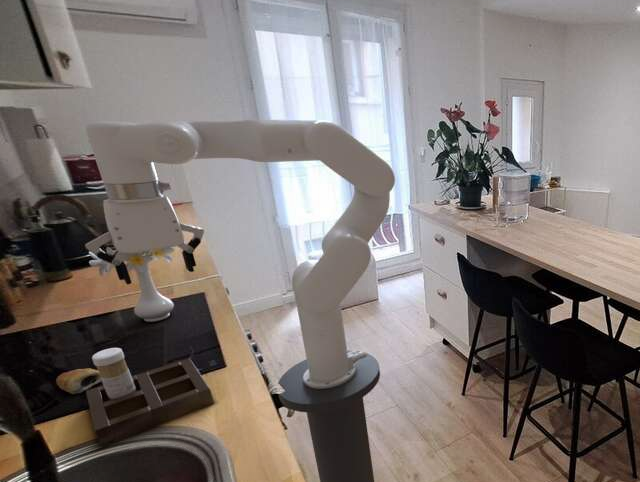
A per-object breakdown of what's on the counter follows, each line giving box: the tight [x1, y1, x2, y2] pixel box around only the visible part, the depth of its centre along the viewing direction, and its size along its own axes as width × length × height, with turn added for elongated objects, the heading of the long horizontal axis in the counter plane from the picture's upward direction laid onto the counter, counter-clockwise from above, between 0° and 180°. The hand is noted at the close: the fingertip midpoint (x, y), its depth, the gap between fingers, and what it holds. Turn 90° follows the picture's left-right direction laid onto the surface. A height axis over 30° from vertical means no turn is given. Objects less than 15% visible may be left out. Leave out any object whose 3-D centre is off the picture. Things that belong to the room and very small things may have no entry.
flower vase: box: [88, 246, 175, 323], centre depth 124 cm, size 13×18×25 cm
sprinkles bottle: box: [91, 347, 136, 400], centre depth 88 cm, size 5×5×13 cm
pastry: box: [55, 367, 102, 395], centre depth 96 cm, size 9×7×4 cm
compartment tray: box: [85, 357, 215, 448], centre depth 90 cm, size 18×18×4 cm
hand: (160, 276), depth 83 cm, fingers open, 9 cm apart
